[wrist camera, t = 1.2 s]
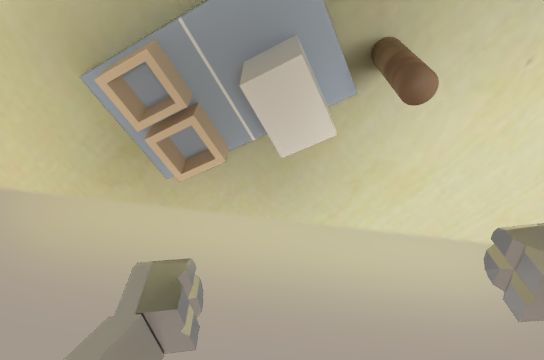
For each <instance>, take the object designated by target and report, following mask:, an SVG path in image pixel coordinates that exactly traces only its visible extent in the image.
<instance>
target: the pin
mask: <svg viewBox="0 0 544 360" xmlns="http://www.w3.org/2000/svg"><path fill="white" fill-rule="evenodd" d="M372 60H373V62H374V64H375V65H376V66H377V68H378V69H379V70H380V72H381V73H382V74H383V76H384V77H385V78H386V80H387V81H388V82H389V84H390V85H391V86H392V88H393V89H394V90H395V92H396V93H397V94H398V96H399V97H400V98H401V100H402V101H403V102H404V103H406V104H408V105H420V104H423V103H425V102H427V101H428V100H429V99H431V98H432V97H433V95H434V94H435V93H436V91H437V88H438V84H439V81H438V77H437V75H436V73H435V72H434V71H433V70H431V69H430V68H429V67H428V66H427V65H426V64H425V63H424V62H422V61H421V60H420V59H419V58H418V57H417V56H416V55H415V54H414V53H412V52H411V51H410V50H409V49H408V48H407V47H406V46H405V45H403V44H402V43H401V42H400V41H399V40H398V39H396V38H394V37H386V38H383V39H381V40H380V41H379V42H377V44H376V45H375V46H374V48H373V50H372Z"/></svg>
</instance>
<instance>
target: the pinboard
mask: <svg viewBox="0 0 544 360" xmlns="http://www.w3.org/2000/svg"><path fill="white" fill-rule="evenodd" d="M295 35H297V36H298V38H299V40H300V43H301V45H302V47H303V49H304V52H305V54H306V56H307V59H308V61H309V63H310V66H311V68H312V70H313V72H314V75H315V77H316V79H317V82H318V84H319V86H320V89H321V91H322V93H323V95H324V98H325V100H326V102H327V105H328V106H331V105H333V104H335V103H337V102H340V101H342V100H344V99H346V98H349V97H351V96H353V95H355V94H357V90H356V87H355V85H354V82H353V79H352V76H351V74H350V71H349V68H348V66H347V63H346V60H345V58H344V55H343V52H342V49H341V47H340V44H339V41H338V39H337V36H336V33H335V31H334V28H333V25H332V22H331V20H330V17H329V14H328V12H327V9H326V6H325V4H324V1H323V0H206V1H204V2H203V3H201V4H199V5H198V6H196V7H194V8H193V9H191V10H189V11H188V12H186V13H184V14H183V15H181V16H179V17H178V18H176V19H174V20H173V21H171V22H169V23H168V24H166V25H164V26H163V27H161V28H159V29H158V30H156V31H154V32H153V33H151V34H149V35H148V36H146V37H144V38H143V39H141V40H139V41H137V42H136V43H134V44H132V45H131V46H129V47H127V48H126V49H124V50H122V51H121V52H119V53H117V54H116V55H114V56H112V57H111V58H109V59H107V60H106V61H104V62H102V63H101V64H99V65H97V66H96V67H94V68H92V69H91V70H89V71H87V72H86V73H84V74H83V75H82V76H81V77H79V78H80V79H81V80H82V81H83V82H84V83H85V85H86V86H87V87H88V88H89V89H90V90H91V91H92V93H93V94H94V95H95V96H96V97H97V98H98V100H99V101H100V102H101V103H102V104H103V105H104V107H105V108H106V109H107V110H108V111H109V112H110V114H111V115H112V116H113V117H114V118H115V119H116V121H117V122H118V123H119V124H120V125H121V126H122V127H123V129H124V130H125V131H126V132H127V133H128V134H129V136H130V137H131V138H132V139H133V140H134V141H135V143H136V144H137V145H138V146H139V147H140V148H141V150H142V151H143V152H144V153H145V154H146V155H147V157H148V158H149V159H150V160H151V161H152V162H153V163H154V165H155V166H156V167H157V168H158V169H159V170H160V172H161V173H162V174H163V175H164V176H165V177H166V179H168V178H170V177H172V176H175V177H176V178H177V180H178V181H179V182H181V181H183V180H185V179H188V178H190V177H192V176H195V175H197V174H199V173H201V172H204V171H206V170H208V169H210V168H213V167H215V166H217V165H220V164H222V163H224V162H226V159H227V154H228V151H230V150H233V149H235V148H237V147H239V146H242V145H244V144H246V143H248V142H250V141H254V140H255V139H257V138H259V137H262V136H264V135H266V134H267V132H266V131H265V129H264V127H263V125H262V124H261V122H260V120H259V118H258V117H257V115H256V113H255V112H254V110H253V108H252V106H251V105H250V103H249V101H248V100H247V98H246V96H245V94H244V93H243V91H242V89H241V88H240V86H239V85H240V80H241V75H242V69H243V64H244V62H245V61H247V60H249V59H251V58H253V57H255V56H256V55H258V54H260V53H262V52H264V51H266V50H268V49H270V48H272V47H274V46H276V45H278V44H279V43H281V42H283V41H285V40H287V39H289V38H291V37H293V36H295Z"/></svg>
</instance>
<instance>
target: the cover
mask: <svg viewBox="0 0 544 360" xmlns="http://www.w3.org/2000/svg"><path fill="white" fill-rule="evenodd" d="M239 86H240V88H241V89H242V91H243V93H244V94H245V96H246V98H247V100H248V101H249V103H250V105H251V106H252V108H253V110H254V112H255V113H256V115H257V117H258V118H259V120H260V122H261V124H262V125H263V127H264V129H265V131H266V132H267V134H268V136H269V137H270V139H271V141H272V143H273V144H274V146H275V148H276V149H277V151H278V153H279V155H280V156H281V158H284V157H286V156H289V155H291V154H293V153H296V152H298V151H301V150H303V149H305V148H308V147H310V146H312V145H315V144H317V143H320V142H322V141H324V140H327V139H329V138H331V137H334V136H336V135H337V132H336V129H335V126H334V122H333V119H332V116H331V113H330V110H329V107H328V105H327V102H326V100H325V98H324V95H323V93H322V91H321V89H320V86H319V84H318V82H317V79H316V77H315V75H314V72H313V70H312V68H311V66H310V63H309V61H308V59H307V56H306V54H305V52H304V49H303V47H302V45H301V43H300V40H299V38H298V36H297V35H295V36H293V37H291V38H289V39H287V40H285V41H283V42H281V43H279V44H278V45H276V46H274V47H272V48H270V49H268V50H266V51H264V52H262V53H260V54H258V55H256V56H255V57H253V58H251V59H249V60H247V61H245V62H244V64H243V69H242V75H241V80H240V85H239Z"/></svg>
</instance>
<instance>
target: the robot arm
mask: <svg viewBox="0 0 544 360" xmlns="http://www.w3.org/2000/svg"><path fill="white" fill-rule="evenodd" d="M491 240H492V241H493V242H494V245H492V246H491V247H490V248H489V249H487V250H486V253H485V257H484V265H485V270H486V273H487V275H488V277H489V279H490V280H491V282H492V283H493V285H495V286H496V287H498V288H500V289H501V290H503V291H504V296H503V300H504V301H505V303H506V304H507V306H508V307H509V308H510V310H511V312H512V313H513V314H514V316H515V317H516V319H517V320H518V322H527V321H544V223H541V224H530V225H521V226H512V227H503V228H497V229H496V230H495V231H494V232H493V234H492V237H491ZM195 271H196V265H195V263H194V261H193V259H177V260H163V261H154V262H140V263H137V264H136V265H135V266H134V267H133V269H132V271H131V274H130V276H129V279H128V282H127V284H126V287H125V289H124V292H123V294H122V297H121V300H120V302H119V305H118V307H117V310H116V312H115V315H114V316H112V317H108V318H107V319H106V320H105V321H104V322H102V323H101V324H100V325H99V326H98V327H97V328H96V329H95V330H94V331H93V332H92V333H91V334H90V335H89V336H88V337H87V338H85V339H84V340H83V341H82V342H81V343H80V344H79V345H78V346H77V347H76V348H75V349H74V350H73V351H72V352H71V353H70V354H69V355H68V356H66V357H65V358H64V359H63V360H162V359H163V357H164V354H167V353H176V352H184V351H193V350H196V346H197V340H198V333H199V327H200V326H199V324H198V321H197V319H196V318H197V316H198V315H199V314H200V313H201V312H202V307H203V288H202V283H201V279H200V277H198V276H196V275H195Z"/></svg>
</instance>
